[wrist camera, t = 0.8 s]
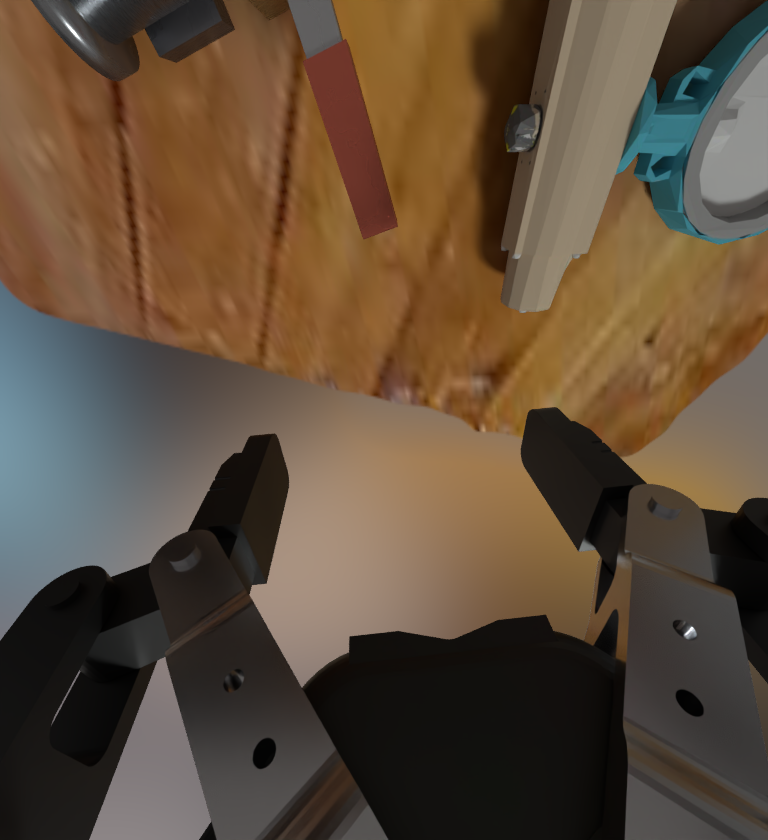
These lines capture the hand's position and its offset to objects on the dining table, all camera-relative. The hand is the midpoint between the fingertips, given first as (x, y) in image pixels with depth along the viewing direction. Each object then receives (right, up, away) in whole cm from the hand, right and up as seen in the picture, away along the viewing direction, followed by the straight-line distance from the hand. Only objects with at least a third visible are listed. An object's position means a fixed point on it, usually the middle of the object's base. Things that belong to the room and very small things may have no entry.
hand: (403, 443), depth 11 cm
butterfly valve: (+23, +24, +16) cm, 37 cm away
